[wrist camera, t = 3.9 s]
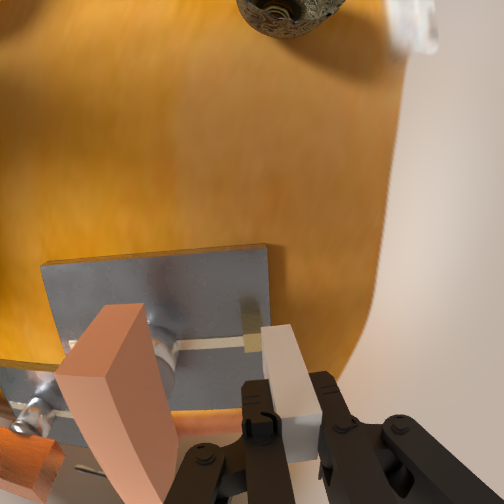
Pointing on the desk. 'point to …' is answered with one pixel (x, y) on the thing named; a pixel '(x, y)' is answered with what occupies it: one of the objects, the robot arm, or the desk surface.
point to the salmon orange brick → (123, 402)
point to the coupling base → (177, 312)
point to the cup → (287, 15)
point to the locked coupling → (34, 429)
